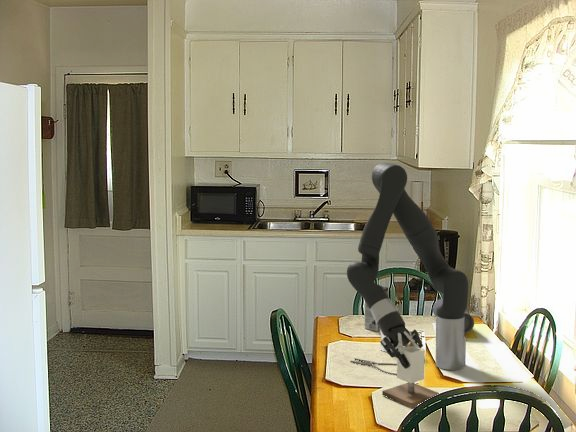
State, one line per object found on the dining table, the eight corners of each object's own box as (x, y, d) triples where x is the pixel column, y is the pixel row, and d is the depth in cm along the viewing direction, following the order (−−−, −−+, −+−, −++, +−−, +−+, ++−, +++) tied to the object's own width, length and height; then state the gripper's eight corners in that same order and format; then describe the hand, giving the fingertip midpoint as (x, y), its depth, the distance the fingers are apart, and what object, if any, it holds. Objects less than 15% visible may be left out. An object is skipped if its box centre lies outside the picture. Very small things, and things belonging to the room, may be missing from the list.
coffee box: (375, 323, 285) (375, 284, 283) (389, 325, 281) (389, 286, 279) (364, 328, 278) (364, 289, 276) (378, 331, 274) (378, 291, 272)
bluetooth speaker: (475, 336, 266) (476, 311, 264) (452, 338, 264) (452, 312, 263) (452, 320, 288) (453, 296, 287) (431, 321, 286) (431, 298, 285)
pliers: (402, 374, 225) (344, 367, 233) (402, 377, 225) (344, 369, 233) (409, 365, 234) (353, 357, 242) (409, 367, 234) (353, 360, 242)
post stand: (410, 386, 216) (410, 357, 215) (439, 398, 206) (440, 367, 205) (382, 395, 209) (382, 365, 208) (411, 408, 199) (411, 376, 198)
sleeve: (410, 373, 211) (410, 345, 210) (424, 379, 206) (424, 349, 205) (397, 377, 207) (397, 348, 206) (410, 383, 203) (411, 353, 202)
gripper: (376, 314, 206) (404, 363, 198) (410, 306, 215) (438, 353, 207) (363, 327, 211) (391, 376, 203) (397, 319, 219) (425, 366, 211)
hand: (415, 364), depth 205 cm, fingers closed on sleeve, 5 cm apart
